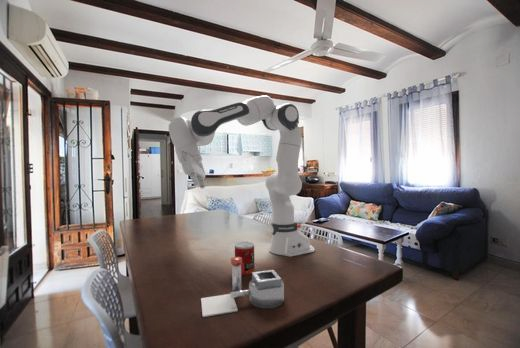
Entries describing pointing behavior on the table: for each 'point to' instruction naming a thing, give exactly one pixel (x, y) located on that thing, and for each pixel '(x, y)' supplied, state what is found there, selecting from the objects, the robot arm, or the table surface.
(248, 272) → the canned food
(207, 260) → the table surface
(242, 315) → the table surface
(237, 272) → the red capped grey cylinder
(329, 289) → the table surface
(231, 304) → the rubber mat
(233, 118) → the robot arm
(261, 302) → the square socket stand
